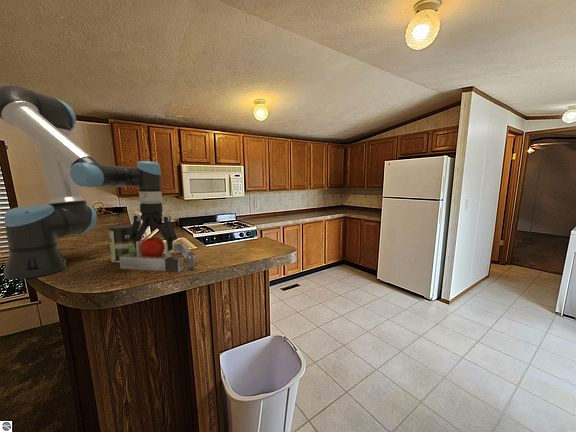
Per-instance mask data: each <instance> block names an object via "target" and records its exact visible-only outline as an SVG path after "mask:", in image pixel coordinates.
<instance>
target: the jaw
mask: <svg viewBox="0 0 576 432" xmlns="http://www.w3.org/2000/svg"><path fill="white" fill-rule="evenodd" d="M172 251H173V254H175V255H176V254H181V256H183V258H184V259H185V261H187V256H190V255H192V256H193V257H194V266H196V260H195V259H196V257H195V253H194V252H193V251H191V249H190V248H189V247H188V246H187V245H186V244H185V243H184V242H175V243H173V249H172Z"/></svg>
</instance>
